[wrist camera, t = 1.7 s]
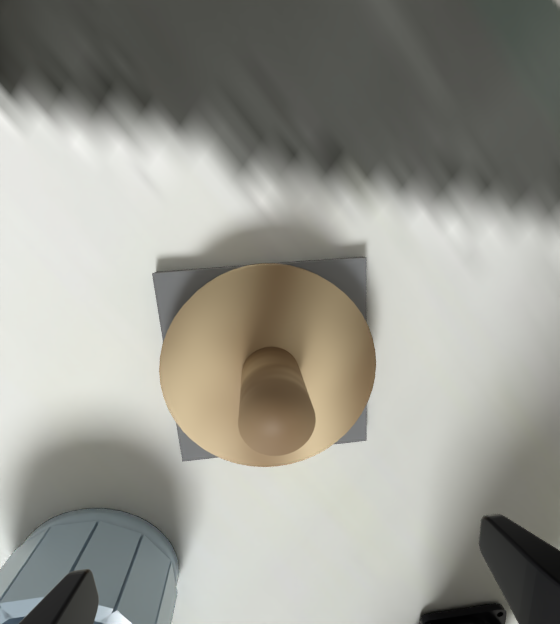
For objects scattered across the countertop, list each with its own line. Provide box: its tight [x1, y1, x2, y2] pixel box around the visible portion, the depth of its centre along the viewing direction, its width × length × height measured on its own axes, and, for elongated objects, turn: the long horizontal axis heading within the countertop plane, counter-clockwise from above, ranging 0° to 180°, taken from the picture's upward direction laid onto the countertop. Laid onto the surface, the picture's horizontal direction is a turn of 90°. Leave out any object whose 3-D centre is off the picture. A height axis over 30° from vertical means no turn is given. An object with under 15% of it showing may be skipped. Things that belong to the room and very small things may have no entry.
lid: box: [159, 263, 376, 467], centre depth 15 cm, size 11×11×6 cm
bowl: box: [0, 508, 179, 624], centre depth 18 cm, size 10×10×5 cm
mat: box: [152, 257, 366, 461], centre depth 18 cm, size 11×11×1 cm
